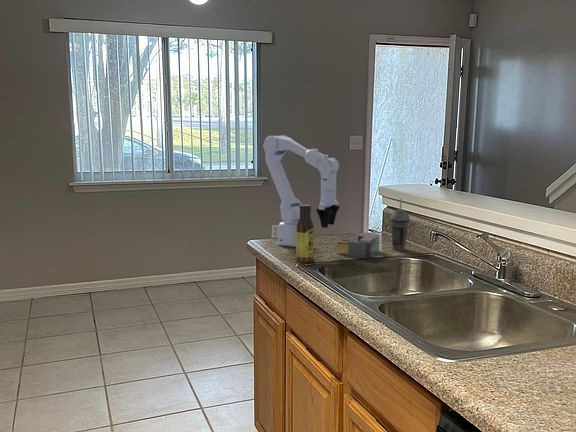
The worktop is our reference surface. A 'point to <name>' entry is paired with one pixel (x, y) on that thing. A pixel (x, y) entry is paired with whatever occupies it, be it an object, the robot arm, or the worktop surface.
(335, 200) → the robot arm
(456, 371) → the worktop surface
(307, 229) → the sauce bottle
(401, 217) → the beverage cup
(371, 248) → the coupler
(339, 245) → the block
